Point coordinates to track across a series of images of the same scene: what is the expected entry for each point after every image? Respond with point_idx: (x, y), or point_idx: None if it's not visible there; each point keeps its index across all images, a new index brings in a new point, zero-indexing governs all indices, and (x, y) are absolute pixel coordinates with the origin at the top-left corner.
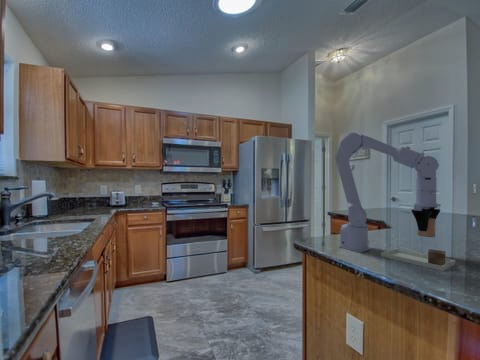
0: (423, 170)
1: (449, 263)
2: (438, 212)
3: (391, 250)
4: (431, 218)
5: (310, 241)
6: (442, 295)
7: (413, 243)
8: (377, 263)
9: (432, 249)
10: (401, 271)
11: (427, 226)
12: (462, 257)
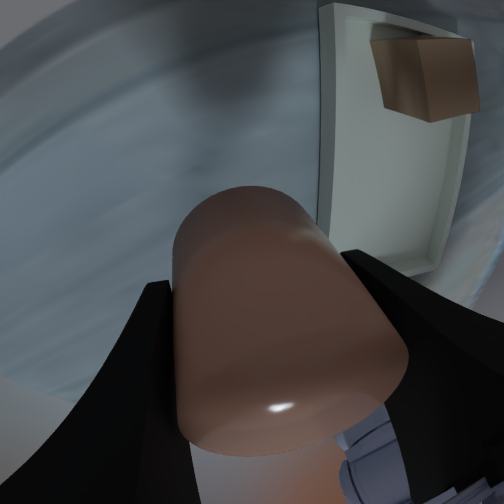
0: None
1: (415, 20)
2: (64, 492)
3: None
4: (247, 394)
5: None
6: None
7: (39, 342)
8: (472, 228)
9: (427, 106)
10: (499, 148)
11: (375, 274)
12: (49, 74)
